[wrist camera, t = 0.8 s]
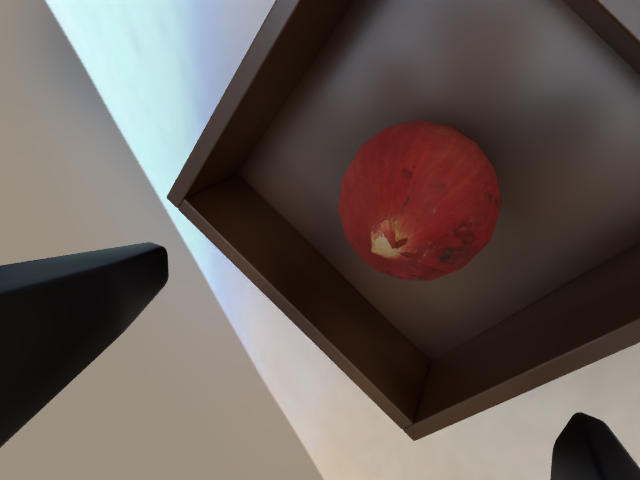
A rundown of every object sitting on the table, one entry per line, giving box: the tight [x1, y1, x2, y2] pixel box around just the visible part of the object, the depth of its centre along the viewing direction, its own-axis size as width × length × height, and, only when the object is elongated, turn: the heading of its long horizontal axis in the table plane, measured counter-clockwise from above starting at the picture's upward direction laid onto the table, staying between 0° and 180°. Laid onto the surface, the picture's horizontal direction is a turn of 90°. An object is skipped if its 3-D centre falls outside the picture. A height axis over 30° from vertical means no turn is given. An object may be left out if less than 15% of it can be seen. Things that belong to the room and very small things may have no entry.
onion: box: [338, 121, 502, 281], centre depth 15 cm, size 6×6×8 cm
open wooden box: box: [167, 0, 640, 441], centre depth 17 cm, size 17×17×5 cm
